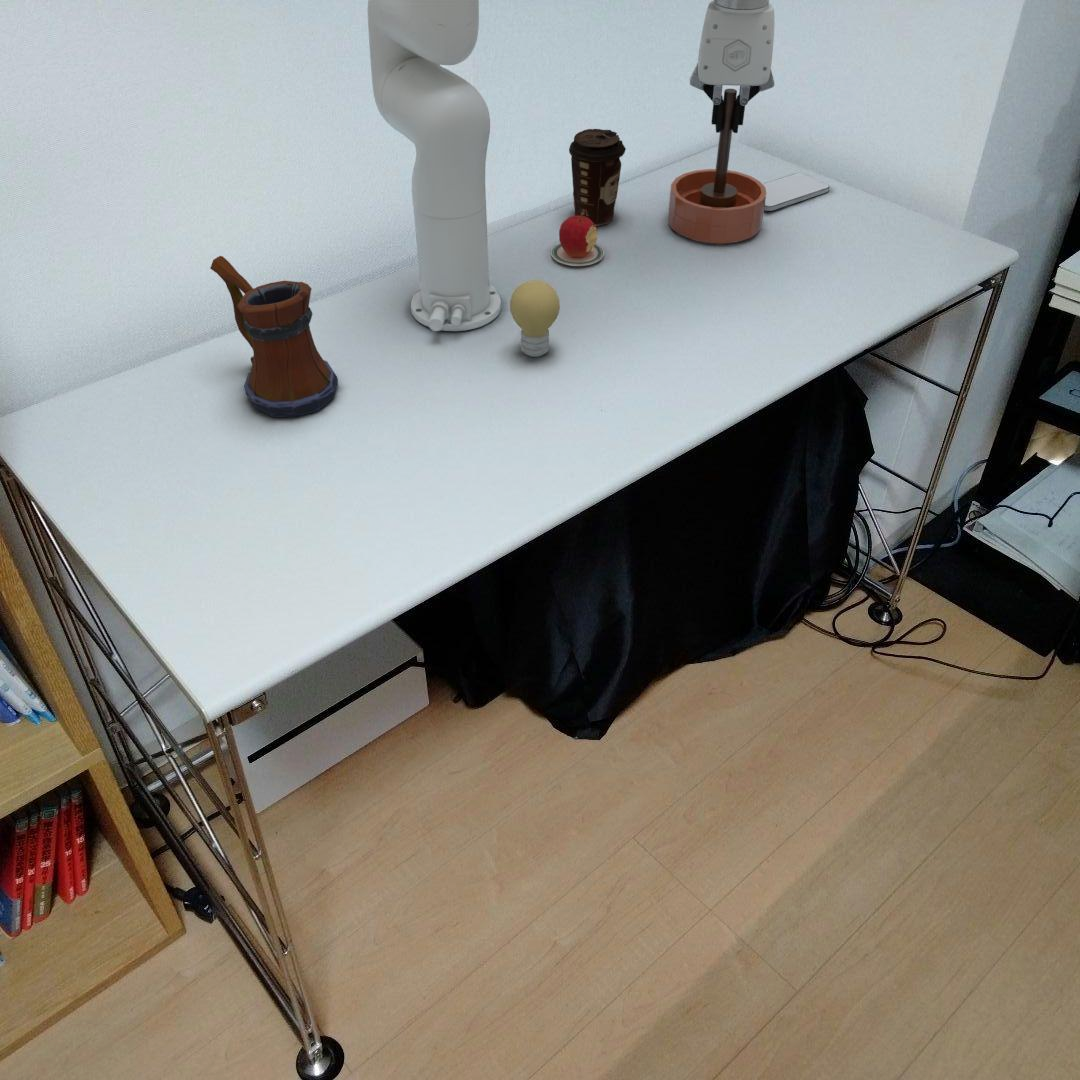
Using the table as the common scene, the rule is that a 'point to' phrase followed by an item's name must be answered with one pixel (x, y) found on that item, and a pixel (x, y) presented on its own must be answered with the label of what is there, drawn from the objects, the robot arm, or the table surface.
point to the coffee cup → (596, 173)
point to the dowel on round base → (722, 161)
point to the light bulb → (534, 315)
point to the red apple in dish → (577, 242)
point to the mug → (279, 345)
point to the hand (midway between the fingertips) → (726, 128)
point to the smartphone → (792, 190)
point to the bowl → (716, 208)
